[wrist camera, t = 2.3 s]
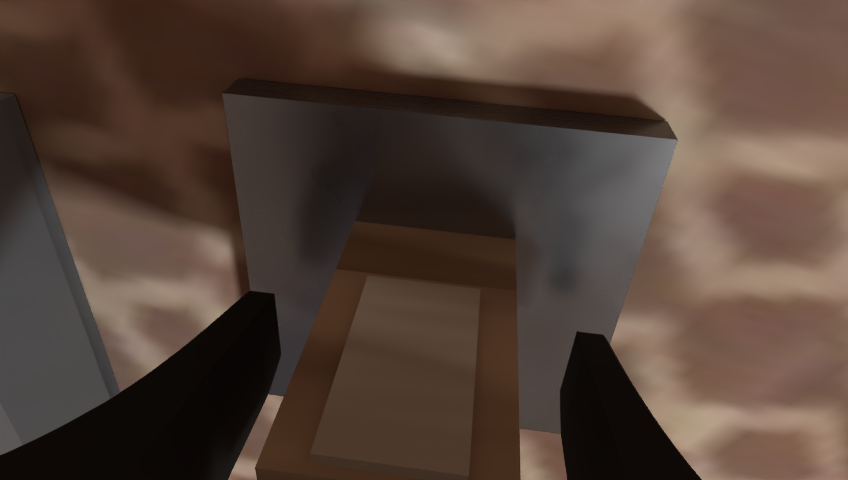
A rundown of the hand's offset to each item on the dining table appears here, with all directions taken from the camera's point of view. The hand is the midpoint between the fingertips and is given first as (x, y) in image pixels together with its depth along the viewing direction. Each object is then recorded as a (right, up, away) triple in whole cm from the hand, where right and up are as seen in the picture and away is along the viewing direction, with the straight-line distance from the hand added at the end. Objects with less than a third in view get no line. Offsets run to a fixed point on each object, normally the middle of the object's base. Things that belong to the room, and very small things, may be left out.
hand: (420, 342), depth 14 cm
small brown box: (0, +1, +2) cm, 2 cm away
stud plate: (0, +2, +2) cm, 3 cm away
